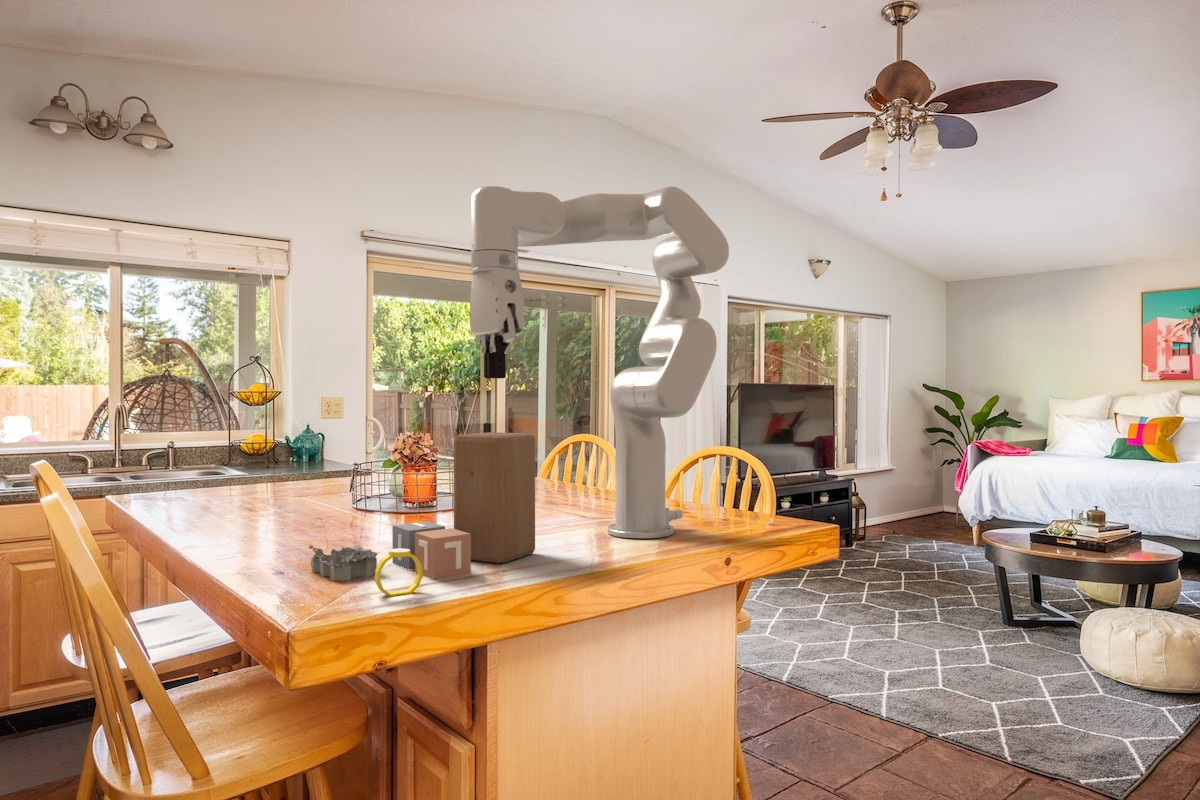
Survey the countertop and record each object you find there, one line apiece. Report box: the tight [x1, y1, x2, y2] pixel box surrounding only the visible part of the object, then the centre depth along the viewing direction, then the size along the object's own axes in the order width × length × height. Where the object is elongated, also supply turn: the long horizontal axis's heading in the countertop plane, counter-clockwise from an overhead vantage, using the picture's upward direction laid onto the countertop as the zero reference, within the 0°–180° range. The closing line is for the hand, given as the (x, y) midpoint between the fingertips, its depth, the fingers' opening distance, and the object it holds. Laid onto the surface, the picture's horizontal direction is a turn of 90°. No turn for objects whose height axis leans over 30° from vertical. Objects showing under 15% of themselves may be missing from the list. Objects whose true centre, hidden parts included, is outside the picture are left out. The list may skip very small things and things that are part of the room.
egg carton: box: [308, 544, 380, 581], centre depth 112 cm, size 11×8×4 cm
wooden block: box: [453, 431, 536, 564], centre depth 122 cm, size 10×10×20 cm
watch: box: [374, 548, 423, 597], centre depth 99 cm, size 6×3×6 cm, turn 121°
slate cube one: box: [392, 521, 446, 571], centre depth 117 cm, size 6×6×6 cm
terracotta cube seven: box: [414, 527, 472, 581], centre depth 111 cm, size 6×6×6 cm
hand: (494, 377), depth 122 cm, fingers closed
